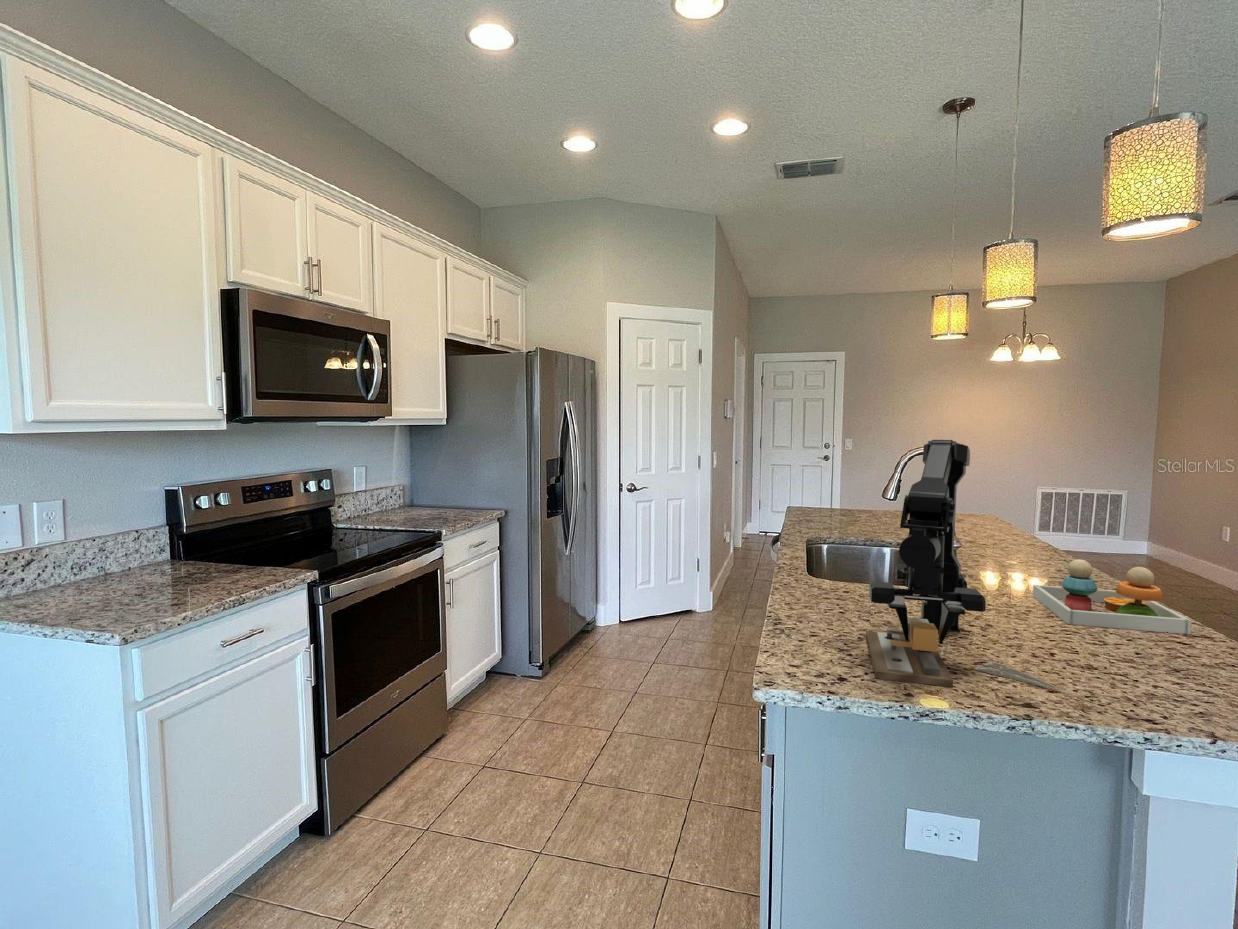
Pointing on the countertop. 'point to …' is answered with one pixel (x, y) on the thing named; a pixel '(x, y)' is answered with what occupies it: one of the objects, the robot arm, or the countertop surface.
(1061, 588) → the parts tray
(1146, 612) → the colourful wooden stacking toy
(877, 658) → the board
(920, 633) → the orange block with tab
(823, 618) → the countertop surface
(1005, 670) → the grey tweezers
